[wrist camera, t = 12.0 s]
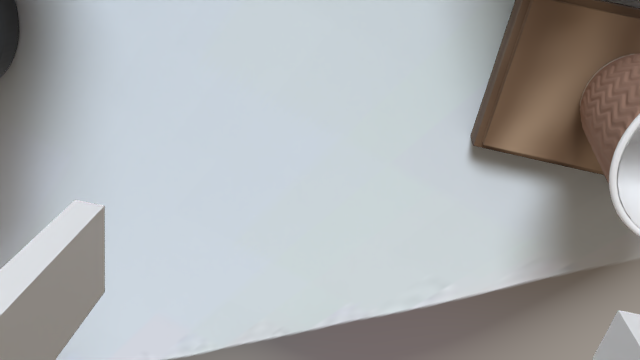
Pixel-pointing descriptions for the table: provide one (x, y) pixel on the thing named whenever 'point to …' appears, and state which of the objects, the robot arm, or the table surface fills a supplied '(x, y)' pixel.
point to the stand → (551, 77)
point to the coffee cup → (616, 132)
